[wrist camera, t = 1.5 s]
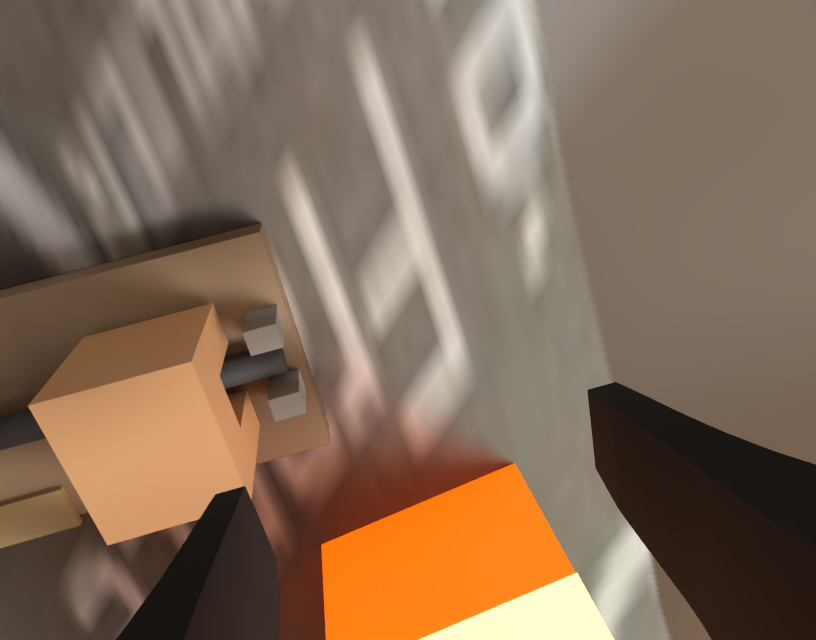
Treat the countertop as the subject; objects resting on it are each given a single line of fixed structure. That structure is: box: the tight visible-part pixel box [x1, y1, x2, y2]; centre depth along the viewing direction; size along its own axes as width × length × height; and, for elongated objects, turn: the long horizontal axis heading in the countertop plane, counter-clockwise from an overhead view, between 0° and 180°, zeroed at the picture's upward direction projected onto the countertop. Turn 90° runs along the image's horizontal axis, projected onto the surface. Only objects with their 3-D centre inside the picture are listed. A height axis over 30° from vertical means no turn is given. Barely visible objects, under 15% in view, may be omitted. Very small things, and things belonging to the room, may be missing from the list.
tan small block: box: [28, 303, 260, 545], centre depth 17 cm, size 5×4×4 cm
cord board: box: [0, 223, 330, 548], centre depth 18 cm, size 9×17×5 cm, turn 102°
